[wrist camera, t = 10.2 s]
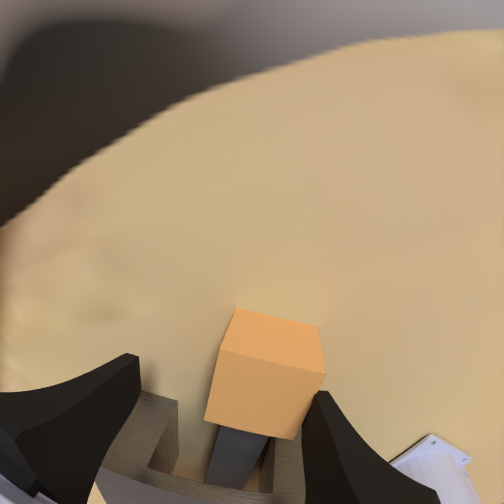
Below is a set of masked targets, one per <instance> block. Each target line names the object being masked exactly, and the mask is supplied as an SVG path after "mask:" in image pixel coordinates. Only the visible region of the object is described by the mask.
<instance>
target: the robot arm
mask: <svg viewBox="0 0 504 504" xmlns="http://www.w3.org/2000/svg"><path fill="white" fill-rule="evenodd" d="M141 392H142V391H141V379H140V365H139V356H135V355H132V354H129V353H125V354H123V355H121V356H119V357H117V358H115V359H113V360H112V361H110V362H108V363H106V364H104V365H102V366H100V367H98V368H96V369H94V370H92V371H90V372H88V373H85V374H83V375H81V376H79V377H76V378H74V379H72V380H69V381H66V382H63V383H60V384H57V385H54V386H50V387H45V388H41V389H36V390H30V391H22V392H7V393H6V392H0V504H87V501H88V497H89V494H90V492H91V489H92V486H93V483H94V480H95V478H96V476H97V473H98V471H99V468H100V466H101V464H102V461H103V459H104V457H105V455H106V453H107V451H108V449H109V447H110V445H111V444H112V442H113V440H114V439H115V437H116V436H117V434H118V433H119V431H120V430H121V428H122V427H123V425H124V423H125V422H126V420H127V419H128V417H129V416H130V414H131V413H132V411H133V409H134V407H135V405H136V403H137V401H138V398H139V396H140V394H141ZM301 447H302V457H303V467H304V477H305V504H481V501H480V499H479V497H478V495H477V492H476V490H475V488H474V486H473V484H472V482H471V480H470V477H469V475H468V473H467V471H466V469H465V467H464V466H465V465H466V464H468V463H469V462H470V461H471V459H472V458H471V456H470V455H468V454H466V453H464V452H463V451H461V450H459V449H457V448H456V447H454V446H452V445H450V444H449V443H447V442H445V441H444V440H442V439H440V438H439V437H437V436H435V435H433V434H431V435H428V436H426V437H425V438H424V439H422V440H421V441H420V442H418V443H417V444H416V445H415V446H413V447H412V448H411V449H409V450H408V451H406V452H405V453H404V454H402V455H401V456H399V457H398V458H397V459H395V460H394V461H392V462H391V463H388V462H386V461H385V460H384V459H383V458H382V457H380V456H379V455H378V454H377V453H376V452H375V451H374V450H373V449H372V448H371V447H370V446H369V445H368V444H367V443H366V442H365V441H364V440H363V439H362V438H361V436H360V435H359V434H358V433H357V432H356V430H355V429H354V428H353V427H352V425H351V424H350V422H349V421H348V420H347V418H346V417H345V416H344V414H343V413H342V411H341V410H340V408H339V407H338V405H337V404H336V402H335V401H334V399H333V398H332V396H331V395H330V393H329V392H328V391H321V390H318V392H317V393H315V395H314V398H313V401H312V404H311V406H310V408H309V410H308V412H307V414H306V416H305V418H304V420H303V422H302V431H301Z"/></svg>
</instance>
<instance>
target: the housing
mask: <svg viewBox="0 0 504 504" xmlns="http://www.w3.org/2000/svg"><path fill="white" fill-rule="evenodd" d="M301 431H302V424H301V426H300V428H299V430H298V432H297V434H296V436H295V437H294V439H293V440H289V439H283V438H277V437H272V436H271V439H270V442H269V445H268V448H267V452H266V455H265V458H264V461H263V464H262V466H261V469H260V476H259V486H258V492H252V491H244V490H238V489H231V488H225V487H220V486H215V485H210V484H205V483H201V482H196V481H192V480H188V479H184V478H180V477H176V476H173V475H171V473H172V470H173V468H174V465H175V462H176V460H177V457H178V401H176V400H172V399H169V398H165V397H161V396H158V395H154V394H151V393H148V392H145V391H142V392H141V394H140V396H139V398H138V401H137V403H136V405H135V407H134V409H133V411H132V413H131V414H130V416H129V417H128V419H127V420H126V422H125V423H124V425H123V427H122V428H121V430H120V431H119V433H118V434H117V436H116V437H115V439H114V440H113V442H112V444H111V445H110V447H109V449H108V451H107V453H106V455H105V457H104V459H103V461H102V464H101V466H100V468H99V471H98V473H97V476H96V478H95V480H94V481H95V483H96V485H97V487H98V489H99V490H100V492H101V494H102V496H103V498H104V500H105V501H106V503H107V504H305V477H304V467H303V457H302V447H301Z"/></svg>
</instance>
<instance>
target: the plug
mask: <svg viewBox="0 0 504 504" xmlns="http://www.w3.org/2000/svg"><path fill="white" fill-rule="evenodd" d="M325 375H326V370H325V365H324V360H323V355H322V350H321V345H320V340H319V335H318V330H317V326H312V325H308V324H303V323H299V322H294V321H290V320H286V319H281V318H277V317H273V316H269V315H265V314H261V313H257V312H253V311H249V310H245V309H241V308H237V307H236V310H235V312H234V314H233V317H232V319H231V322H230V324H229V327H228V329H227V332H226V334H225V337H224V339H223V342H222V344H221V347H220V349H219V354H218V358H217V363H216V367H215V371H214V376H213V380H212V385H211V389H210V394H209V399H208V403H207V408H206V412H205V417H204V420H205V421H208V422H212V423H216V424H219V425H221V426H220V429H219V433H218V436H217V440H216V443H215V447H214V450H213V454H212V457H211V461H210V464H209V468H208V471H207V475H206V478H205V482H204V483H205V484H210V485H215V486H220V487H225V488H231V489H238V490H242V489H243V488H244V486H245V484H246V482H247V480H248V478H249V476H250V474H251V472H252V470H253V468H254V466H255V464H256V462H257V460H258V458H259V456H260V454H261V452H262V449H263V447H264V445H265V443H266V441H267V439H268V437H269V436H272V437H277V438H283V439H289V440H293V439H294V437H295V436H296V434H297V432H298V430H299V428H300V426H301V424H302V422H303V420H304V418H305V416H306V414H307V412H308V410H309V408H310V406H311V404H312V401H313V398H314V395H315V393H317V392H318V390H319V388H320V386H321V383H322V381H323V379H324V377H325Z"/></svg>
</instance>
